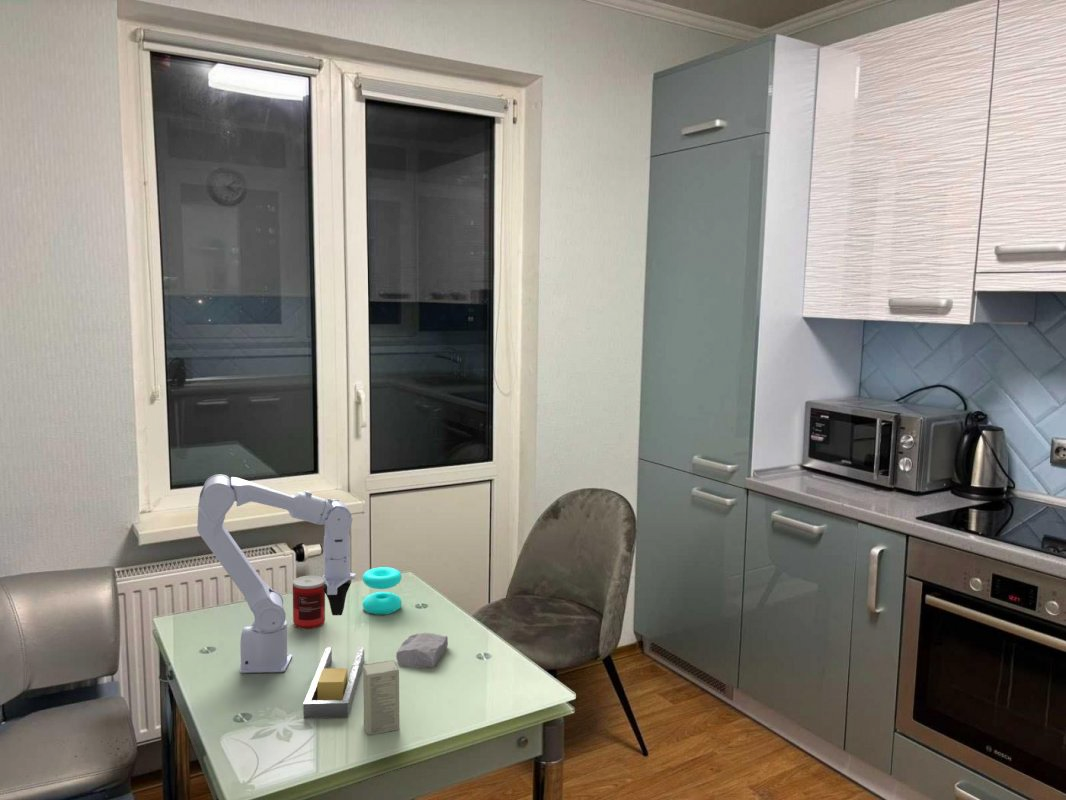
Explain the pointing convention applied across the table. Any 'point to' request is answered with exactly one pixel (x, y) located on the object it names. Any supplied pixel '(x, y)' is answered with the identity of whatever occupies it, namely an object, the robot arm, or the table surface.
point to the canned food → (308, 602)
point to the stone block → (422, 650)
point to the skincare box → (381, 697)
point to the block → (332, 684)
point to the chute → (333, 707)
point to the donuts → (382, 600)
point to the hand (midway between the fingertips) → (337, 614)
